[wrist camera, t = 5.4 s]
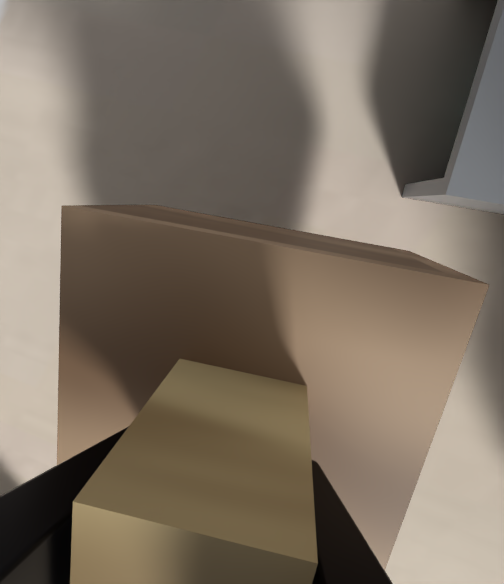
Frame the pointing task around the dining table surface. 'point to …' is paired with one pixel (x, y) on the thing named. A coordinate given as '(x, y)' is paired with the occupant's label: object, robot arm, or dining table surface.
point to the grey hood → (476, 138)
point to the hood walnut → (244, 389)
